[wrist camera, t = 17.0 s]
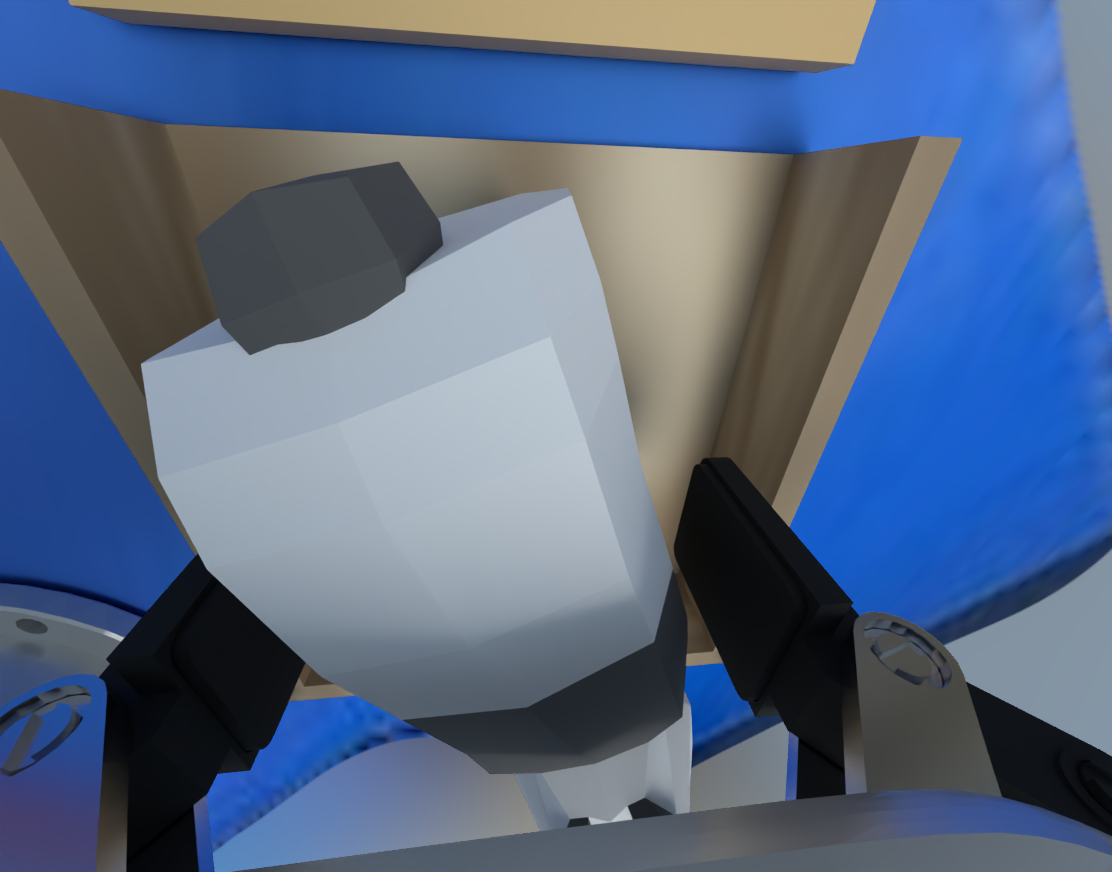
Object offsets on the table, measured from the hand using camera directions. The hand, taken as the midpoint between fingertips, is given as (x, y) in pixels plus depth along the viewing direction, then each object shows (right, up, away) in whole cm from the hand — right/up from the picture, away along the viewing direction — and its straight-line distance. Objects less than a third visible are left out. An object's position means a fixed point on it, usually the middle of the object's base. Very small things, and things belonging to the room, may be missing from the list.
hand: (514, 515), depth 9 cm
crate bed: (-1, +2, +4) cm, 5 cm away
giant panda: (0, +2, +3) cm, 4 cm away
